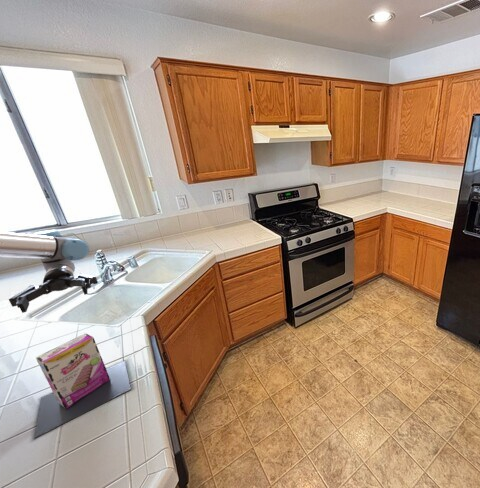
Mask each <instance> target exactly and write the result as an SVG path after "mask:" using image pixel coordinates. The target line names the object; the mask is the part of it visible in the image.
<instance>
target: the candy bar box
mask: <svg viewBox="0 0 480 488" xmlns="http://www.w3.org/2000/svg"><path fill="white" fill-rule="evenodd" d="M35 359H36V362H37V363H38V366H39V367H40V369H41V371H42V373H43V375H44V378H45V379H46V381H47V383H48V385H49V387H50V390H51V391H52V393H54V395H55V397H56V399H57V401H58V403H59V404H60V405H62V406H63V407H64V408H65V409H67V408H69V407H70V406H72V405H73V404H75V403H76V402H78V401H79V400H81V399H82V398H84V397H85V396H87V395H88V394H90V393H91V392H93V391H94V390H96V389H97V388H99V387H100V386H102V385H103V384H105V383H106V382H108V381H109V380H110V377H109V375H108V372H107V370H106V369H107V367H106V365H105V362H104V359H103V357H102V355H101V353H100V350H99V348H98V345H97V342H96V340H95V338H94V337H93V336H92V335H90V334H88V333H86V332H85V333H83V334H81V335H79V336H76V337H75V338H72V339H70V340H68V341H67V342H65V343H63V344H60V345H59V346H56V347H55V348H53V349H50V350H48V351H46V352H44V353H42V354H40V355H38V356H35Z"/></svg>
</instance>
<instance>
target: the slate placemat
mask: <svg viewBox="0 0 480 488" xmlns="http://www.w3.org/2000/svg"><path fill="white" fill-rule="evenodd" d="M106 370H107V372H108V375H109V377H110V380H109V381H108V382H106V383H105V384H103V385H102V386H100V387H99V388H97V389H96V390H94V391H93V392H91V393H90V394H88V395H87V396H85V397H84V398H82V399H81V400H79V401H78V402H76V403H75V404H73V405H72V406H70V407H69V408H67V409H65V408H64V407H63V406H62V405H60V404H59V403H58V401H57V399H56V397H55V395H54V393H53V392H51V393H49V394H47V395H44V396H42V397H41V399H40V405H39V410H38V415H37V421H36V428H35V433H34V439H37V438H38V437H40V436H43V435H44V434H46V433H48V432H50V431H53V430H54V429H56V428H58V427H60V426H62V425H64V424H66V423H68V422H70V421H72V420H74V419H76V418H78V417H80V416H83V415H84V414H86V413H88V412H90V411H92V410H94V409H96V408H99V407H100V406H102V405H104V404H106V403H108V402H110V401H112V400H113V399H116V398H118V397H120V396H121V395H123V394H125V393H128V392H130V391H131V390H132V387H131V383H130V378H129V374H128V369H127V365H126V360H123V361H121V362H118V363H117V364H114V365H112V366H110V367H106Z"/></svg>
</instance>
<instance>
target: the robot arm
mask: <svg viewBox="0 0 480 488" xmlns="http://www.w3.org/2000/svg"><path fill="white" fill-rule="evenodd" d="M89 252H90V246H89V244H88V243H87V242H86V241H84V240H82V239H79V238H70V237H62V234H61V233H60V231H59V230H58V229H48V230H42V231H37V232H34V233H33V234H30V233H29V234H28V233H16V232H9V231H8V232H7V231H0V258H17V259H18V258H19V259H20V258H21V259H22V258H24V259H40V261H41V263H42V266H43V267H44V270H45V274H44V277H43V280H42V283H41V284H39V285H38V286H36V285H34V284H30V285H29V286H28V287H26V288H25V289H23V290H22V291H20V292H18V293H17V294H15V295H13V296H12V297H10V298H8V301H9V303H10V305H11V307H17V308H18V309H20V311H21V313H22V314H23V313H27V311H28V308H29V306H30V302H32V301H34V300H36V299H37V298H40V297H42V296H44V295H49V294H50V293H53V292H62V291H65V290H67V289H69V288H71V289H72V288H74V287H81V290H82V293H83V294H84V296H86V295H88V289H90V288H92V285H97V284H98V283H99V281H98V279H97V276H96V275H91V274H84V273H83V272H80V273H78V274H77V276H75V269H76V267H75V264H74V262H73V261H81V260H83V259H84V258H86V257H87V256H88V255H89Z"/></svg>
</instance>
